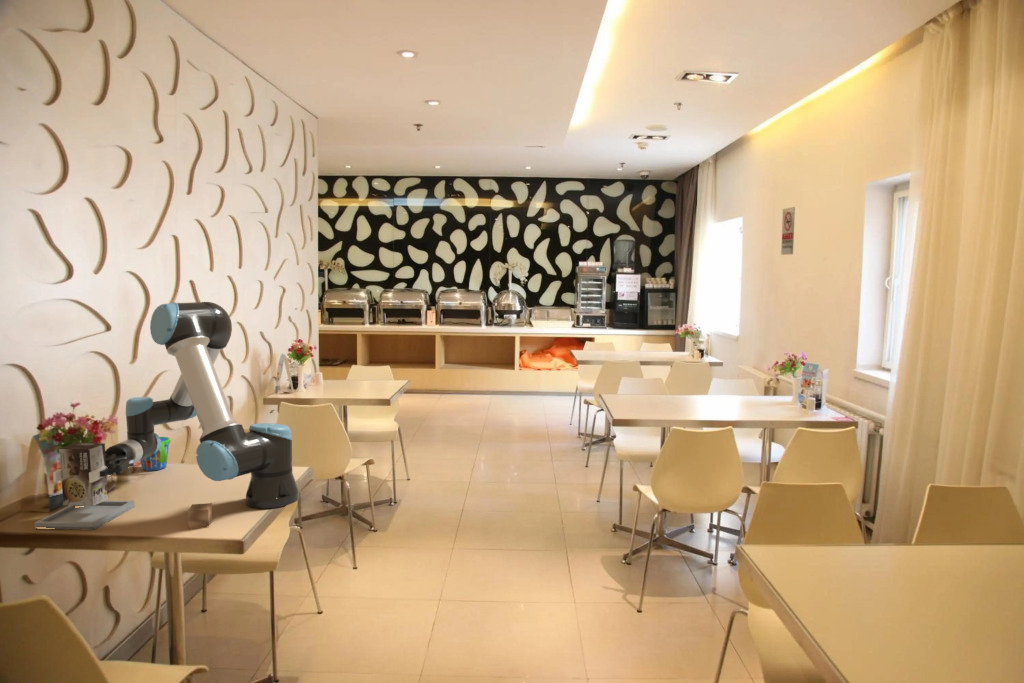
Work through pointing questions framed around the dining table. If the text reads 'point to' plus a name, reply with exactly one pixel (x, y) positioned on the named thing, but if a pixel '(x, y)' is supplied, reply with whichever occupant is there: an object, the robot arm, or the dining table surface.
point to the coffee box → (82, 474)
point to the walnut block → (200, 515)
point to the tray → (85, 515)
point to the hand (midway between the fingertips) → (72, 477)
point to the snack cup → (157, 457)
